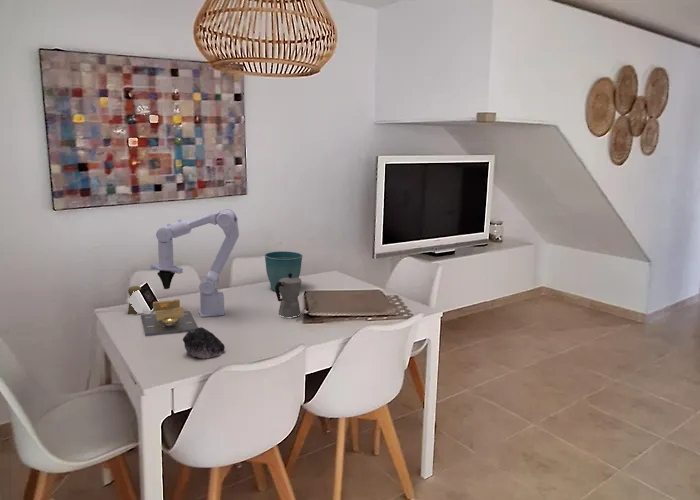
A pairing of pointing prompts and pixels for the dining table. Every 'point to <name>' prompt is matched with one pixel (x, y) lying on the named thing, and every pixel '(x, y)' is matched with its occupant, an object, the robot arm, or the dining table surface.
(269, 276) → the flower pot
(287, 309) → the coffeepot
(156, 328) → the plate
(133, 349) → the dining table surface
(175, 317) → the brass lever handle
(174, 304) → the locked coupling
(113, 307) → the dining table surface
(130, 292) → the cork
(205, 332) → the crystal cluster
